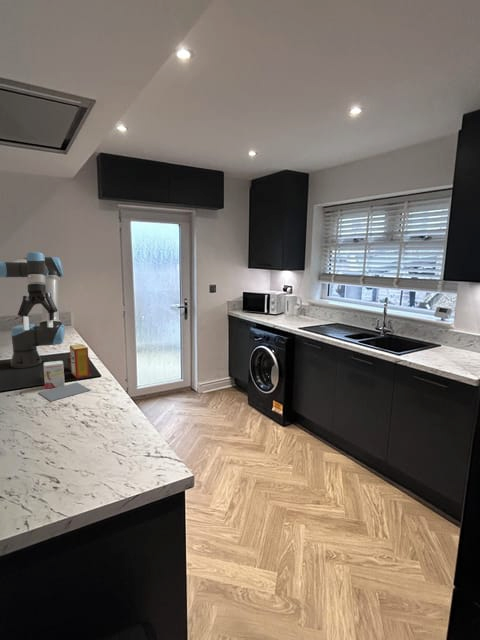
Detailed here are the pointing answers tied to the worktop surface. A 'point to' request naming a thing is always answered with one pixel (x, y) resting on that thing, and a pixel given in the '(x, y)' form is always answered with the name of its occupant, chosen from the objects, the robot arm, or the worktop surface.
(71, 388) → the mat
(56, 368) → the ink box
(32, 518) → the worktop surface
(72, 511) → the worktop surface
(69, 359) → the box
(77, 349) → the baking soda box
